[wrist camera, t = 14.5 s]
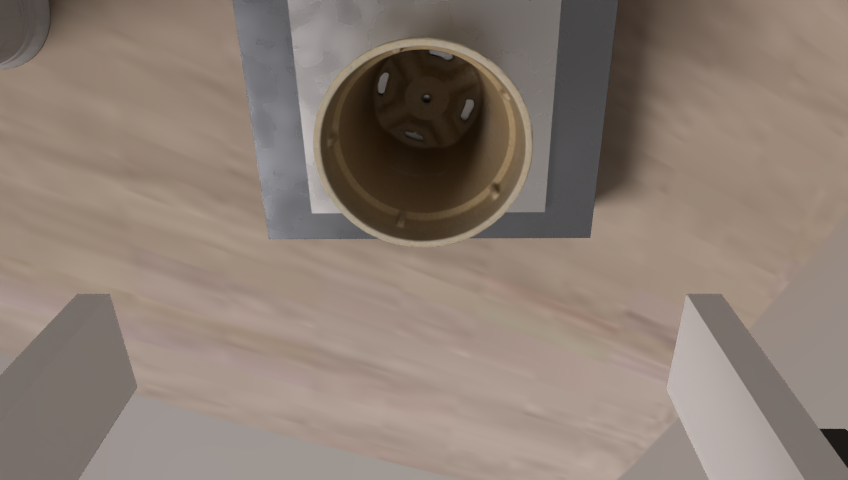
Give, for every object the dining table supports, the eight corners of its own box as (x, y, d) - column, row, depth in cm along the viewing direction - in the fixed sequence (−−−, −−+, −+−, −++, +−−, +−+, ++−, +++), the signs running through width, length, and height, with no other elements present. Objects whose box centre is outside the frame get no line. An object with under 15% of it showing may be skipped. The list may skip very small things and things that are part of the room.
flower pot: (517, 169, 36) (537, 239, 29) (356, 185, 37) (334, 256, 29) (509, -3, 32) (530, 25, 24) (327, 18, 33) (291, 51, 25)
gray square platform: (283, 211, 43) (267, 242, 39) (242, -85, 34) (216, -84, 30) (577, 210, 42) (591, 241, 38) (609, -93, 34) (632, -93, 30)
